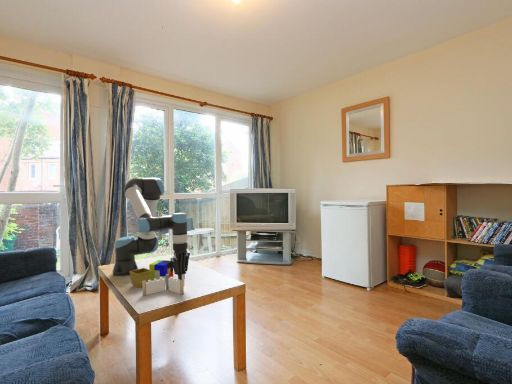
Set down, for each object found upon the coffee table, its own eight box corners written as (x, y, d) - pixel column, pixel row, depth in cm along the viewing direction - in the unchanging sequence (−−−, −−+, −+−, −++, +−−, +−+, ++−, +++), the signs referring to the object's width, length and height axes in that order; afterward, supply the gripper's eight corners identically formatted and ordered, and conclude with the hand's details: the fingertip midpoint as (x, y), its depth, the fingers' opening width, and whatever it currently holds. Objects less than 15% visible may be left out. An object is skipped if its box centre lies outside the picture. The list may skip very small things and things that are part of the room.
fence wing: (168, 289, 145) (167, 276, 145) (170, 289, 147) (170, 275, 146) (181, 294, 138) (181, 280, 138) (184, 293, 140) (184, 279, 139)
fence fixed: (168, 288, 148) (168, 274, 148) (170, 289, 147) (169, 274, 147) (142, 295, 139) (141, 280, 139) (143, 296, 138) (142, 280, 137)
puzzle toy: (164, 282, 160) (164, 265, 160) (149, 281, 162) (149, 264, 162) (173, 276, 170) (172, 260, 170) (158, 275, 172) (158, 260, 172)
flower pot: (144, 282, 159) (144, 267, 159) (152, 286, 154) (151, 270, 154) (129, 287, 153) (129, 271, 152) (137, 290, 147) (136, 274, 147)
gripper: (182, 239, 151) (184, 281, 151) (165, 244, 139) (167, 289, 140) (193, 240, 148) (195, 283, 148) (177, 245, 136) (178, 291, 136)
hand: (181, 286), depth 144 cm, fingers closed
